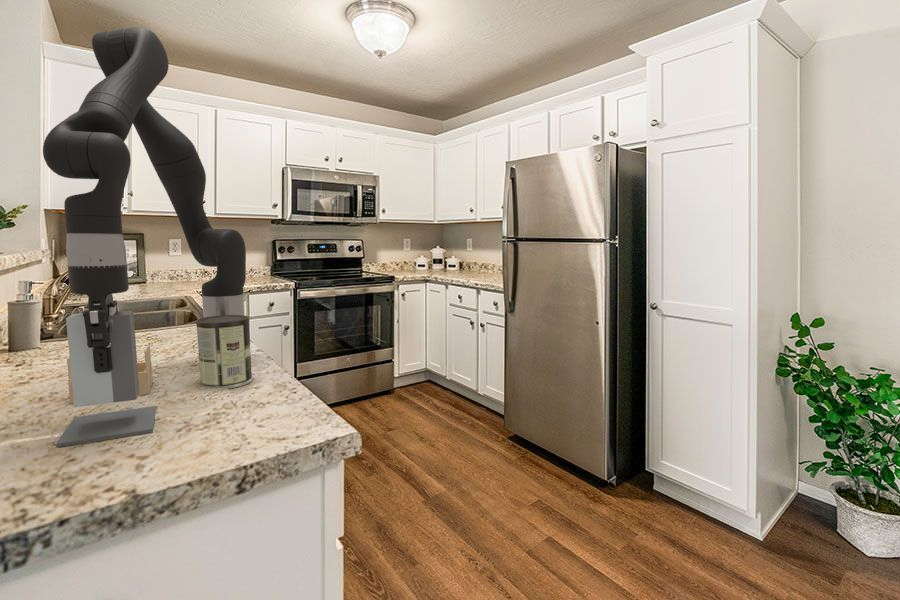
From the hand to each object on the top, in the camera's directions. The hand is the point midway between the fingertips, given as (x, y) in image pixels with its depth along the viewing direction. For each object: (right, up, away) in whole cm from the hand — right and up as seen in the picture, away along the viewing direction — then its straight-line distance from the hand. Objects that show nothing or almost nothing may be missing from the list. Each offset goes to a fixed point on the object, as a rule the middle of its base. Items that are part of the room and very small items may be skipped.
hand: (106, 367), depth 76 cm
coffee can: (+7, -7, +25) cm, 27 cm away
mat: (0, -10, +1) cm, 10 cm away
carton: (-11, -8, +17) cm, 21 cm away
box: (0, -5, +1) cm, 5 cm away
